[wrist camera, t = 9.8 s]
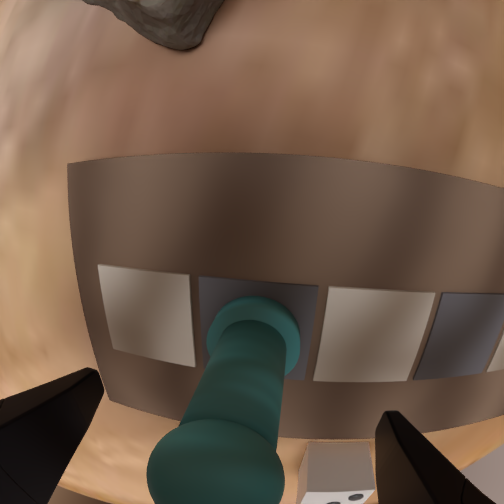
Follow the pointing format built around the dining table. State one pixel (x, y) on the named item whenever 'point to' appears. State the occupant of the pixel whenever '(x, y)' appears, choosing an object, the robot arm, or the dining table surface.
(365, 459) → the die
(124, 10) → the marble piece
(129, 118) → the dining table surface
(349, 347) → the board
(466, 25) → the dining table surface
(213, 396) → the pawn
